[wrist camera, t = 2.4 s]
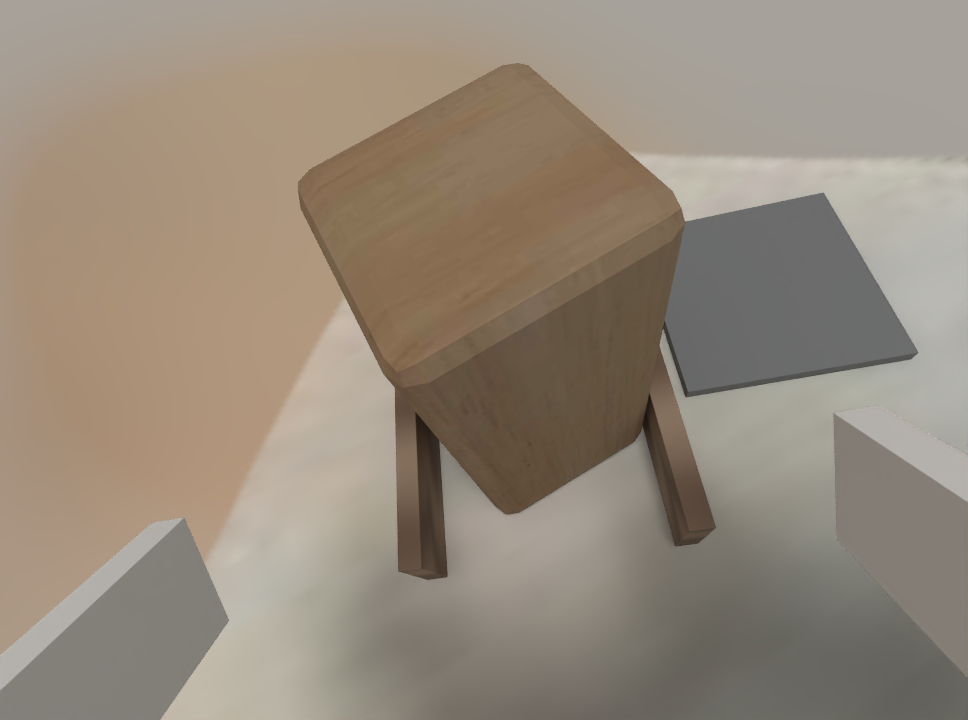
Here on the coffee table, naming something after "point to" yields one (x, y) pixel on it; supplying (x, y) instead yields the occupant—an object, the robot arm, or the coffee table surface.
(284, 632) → the coffee table surface
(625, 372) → the wooden block
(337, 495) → the coffee table surface
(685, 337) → the pad
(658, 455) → the wooden u-shaped frame
